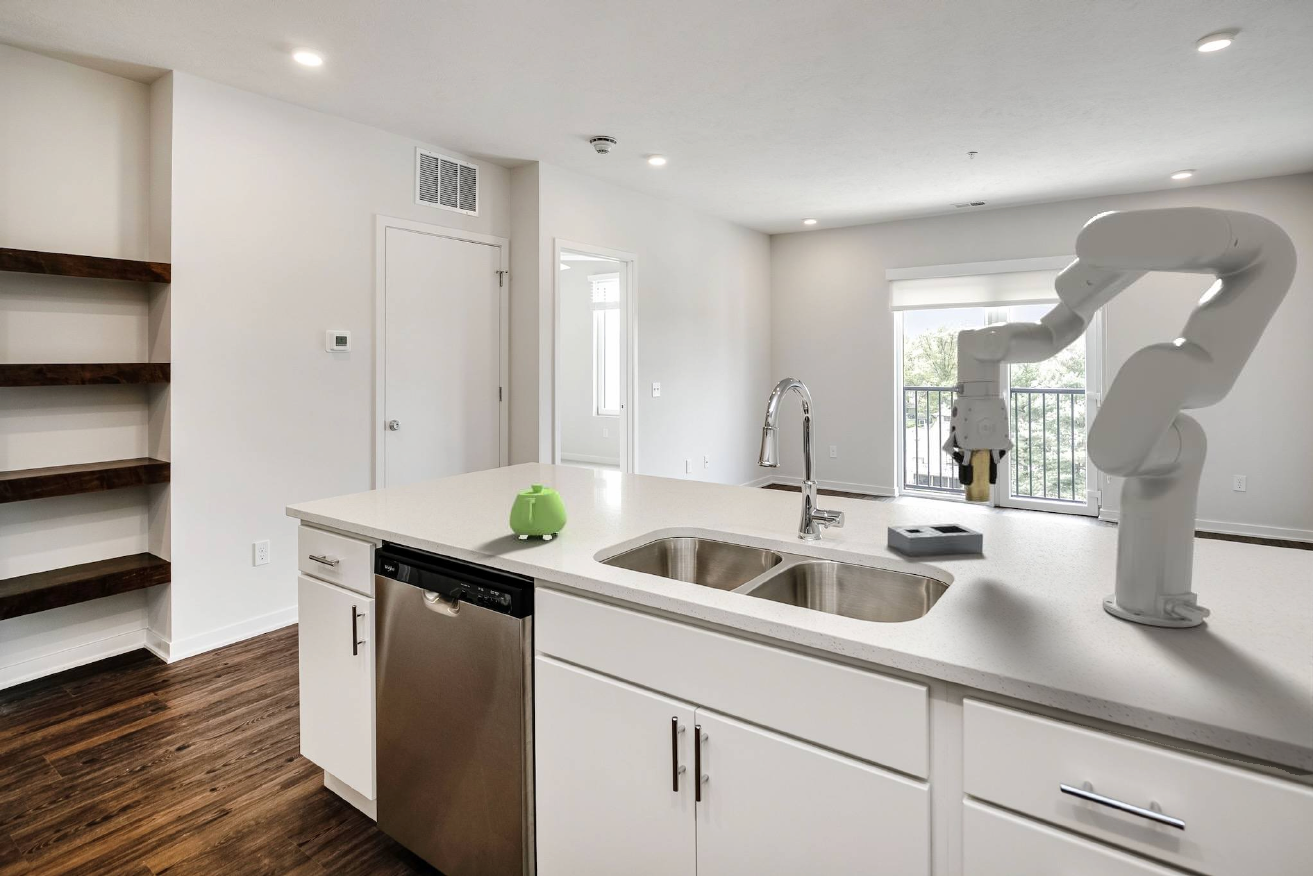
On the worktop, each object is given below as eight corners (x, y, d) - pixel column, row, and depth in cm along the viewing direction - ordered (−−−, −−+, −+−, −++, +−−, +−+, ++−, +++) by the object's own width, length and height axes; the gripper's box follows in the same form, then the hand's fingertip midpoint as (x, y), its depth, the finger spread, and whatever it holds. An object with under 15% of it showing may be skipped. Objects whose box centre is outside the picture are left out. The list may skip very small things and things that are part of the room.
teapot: (525, 526, 176) (523, 477, 175) (576, 526, 174) (574, 477, 173) (498, 546, 156) (495, 491, 155) (555, 546, 155) (553, 491, 153)
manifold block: (982, 553, 142) (982, 534, 142) (909, 556, 140) (909, 537, 140) (956, 541, 152) (956, 523, 152) (887, 544, 150) (887, 526, 150)
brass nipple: (994, 501, 133) (995, 440, 132) (973, 502, 133) (973, 440, 132) (981, 497, 137) (981, 438, 136) (960, 498, 137) (961, 439, 136)
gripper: (947, 392, 129) (947, 488, 130) (1031, 390, 130) (1030, 484, 132) (927, 392, 136) (927, 483, 138) (1006, 389, 138) (1006, 479, 139)
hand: (977, 483), depth 135 cm, fingers closed on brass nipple, 4 cm apart
